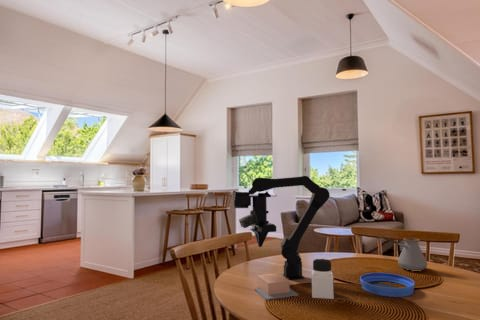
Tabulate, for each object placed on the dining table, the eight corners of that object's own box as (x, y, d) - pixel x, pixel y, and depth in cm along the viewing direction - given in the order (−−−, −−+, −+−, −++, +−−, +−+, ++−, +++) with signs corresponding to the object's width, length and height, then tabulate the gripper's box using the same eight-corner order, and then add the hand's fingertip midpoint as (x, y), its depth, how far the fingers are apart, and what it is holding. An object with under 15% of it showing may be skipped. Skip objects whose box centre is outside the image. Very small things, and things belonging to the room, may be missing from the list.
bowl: (411, 284, 130) (410, 274, 130) (418, 301, 112) (418, 290, 113) (360, 279, 135) (359, 270, 136) (360, 295, 118) (360, 284, 118)
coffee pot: (414, 264, 155) (412, 231, 156) (434, 271, 144) (432, 235, 145) (372, 268, 150) (371, 233, 151) (390, 276, 139) (389, 238, 140)
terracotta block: (277, 273, 130) (289, 280, 120) (277, 283, 129) (289, 292, 120) (257, 275, 127) (268, 283, 118) (257, 286, 127) (268, 295, 118)
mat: (285, 285, 128) (285, 284, 128) (298, 295, 118) (298, 294, 118) (254, 289, 124) (254, 288, 124) (266, 300, 114) (266, 298, 114)
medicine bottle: (334, 299, 114) (333, 262, 114) (312, 298, 115) (311, 261, 116) (332, 292, 121) (332, 257, 121) (311, 291, 122) (311, 256, 123)
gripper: (233, 207, 147) (233, 244, 146) (250, 211, 130) (250, 253, 129) (257, 206, 151) (257, 242, 150) (276, 210, 133) (277, 250, 133)
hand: (260, 246), depth 140 cm, fingers closed
